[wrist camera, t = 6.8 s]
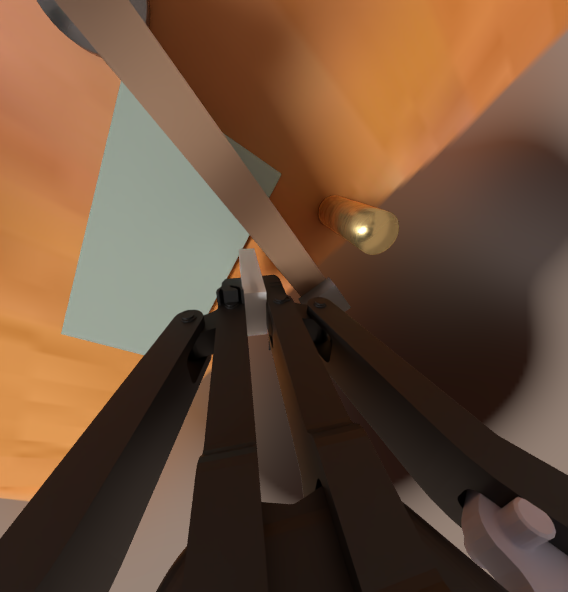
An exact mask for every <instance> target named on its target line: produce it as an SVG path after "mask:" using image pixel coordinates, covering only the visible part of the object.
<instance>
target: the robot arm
mask: <svg viewBox="0 0 568 592" xmlns="http://www.w3.org/2000/svg"><path fill="white" fill-rule="evenodd" d="M238 250H239V261H240V273H241V278H232V279H225V280H224V281H223V282H222V286H221V287H220V288H218V289H217V291H216V295H217V302H218V309H217V310H216V311H214V312H212V313H209V314H206V315H203V313H202V312H201V311H199V310H186V311H183V312H181V313H179V314H177V315H176V316H175V317H174V318H173V319H172V321H171V322H170V323H169V325H168V326H167V327H166V328H165V330H164V331H163V332H162V333H161V335H160V336H159V337H158V339H157V340H156V341H155V342H154V344H153V345H152V346H151V347H150V349H149V350H148V351H147V353H146V354H145V355H144V356H143V358H142V359H141V360H140V361H139V363H138V364H137V365H136V367H135V368H134V369H133V370H132V372H131V373H130V374H129V376H128V377H127V378H126V379H125V381H124V382H123V383H122V384H121V386H120V387H119V388H118V390H117V391H116V392H115V393H114V395H113V396H112V397H111V398H110V400H109V401H108V402H107V404H106V405H105V406H104V407H103V409H102V410H101V411H100V412H99V414H98V415H97V416H96V418H95V419H94V420H93V421H92V423H91V424H90V425H89V426H88V428H87V429H86V430H85V432H84V433H83V434H82V435H81V437H80V438H79V439H78V440H77V442H76V443H75V444H74V446H73V447H72V448H71V449H70V451H69V452H68V453H67V454H66V456H65V457H64V458H63V460H62V461H61V462H60V463H59V465H58V466H57V467H56V468H55V470H54V471H53V472H52V474H51V475H50V476H49V477H48V479H47V480H46V481H45V482H44V484H43V485H42V486H41V488H40V489H39V490H38V491H37V493H36V494H35V495H34V497H33V498H32V499H31V500H30V502H29V503H28V504H27V506H26V507H25V508H24V509H23V511H22V512H21V513H20V514H19V516H18V517H17V518H16V520H15V521H14V522H13V523H12V525H11V526H10V527H9V528H8V530H7V531H6V532H5V534H4V535H3V536H2V537H1V539H0V592H109V590H110V588H111V586H112V583H113V582H114V579H115V577H116V575H117V573H118V571H119V569H120V567H121V565H122V562H123V560H124V558H125V555H126V553H127V551H128V549H129V546H130V544H131V542H132V539H133V537H134V535H135V532H136V530H137V528H138V526H139V523H140V521H141V519H142V516H143V514H144V512H145V510H146V507H147V505H148V503H149V500H150V498H151V496H152V493H153V491H154V489H155V486H156V484H157V482H158V480H159V477H160V475H161V473H162V470H163V468H164V466H165V464H166V461H167V459H168V457H169V454H170V452H171V450H172V447H173V445H174V443H175V440H176V438H177V436H178V433H179V431H180V429H181V427H182V424H183V422H184V420H185V417H186V415H187V413H188V411H189V408H190V406H191V404H192V401H193V399H194V397H195V394H196V392H197V390H198V388H199V385H200V383H201V381H202V378H203V376H204V374H205V371H206V369H207V367H208V365H209V362H210V360H211V355H212V354H213V362H212V372H211V382H210V392H209V402H208V412H207V422H206V432H205V442H204V450H203V454H202V455H201V456H200V458H199V460H198V463H197V469H196V476H195V485H194V493H193V501H192V510H191V519H190V526H189V535H188V544H187V547H186V548H185V549H184V550H183V551H182V553H181V554H180V555H179V556H178V558H177V559H176V561H175V562H174V563H173V565H172V566H171V568H170V569H169V571H168V572H167V574H166V576H165V577H164V579H163V581H162V582H161V584H160V586H159V587H158V589H157V591H156V592H568V475H566V474H564V473H563V472H561V471H559V470H557V469H556V468H554V467H552V466H550V465H549V464H547V463H545V462H543V461H541V460H540V459H538V458H536V457H535V456H533V455H531V454H529V453H528V452H526V451H524V450H522V449H521V448H519V447H517V446H515V445H514V444H512V443H510V442H508V441H507V440H505V439H503V438H501V437H500V436H498V435H497V434H495V433H494V432H493V431H492V430H490V429H489V428H488V427H487V426H485V425H484V424H483V423H482V422H480V421H479V420H478V419H477V418H475V417H474V416H473V415H471V414H470V413H469V412H468V411H467V410H465V409H464V408H463V407H462V406H460V405H459V404H458V403H457V402H456V401H454V400H453V399H452V398H451V397H449V396H448V395H447V394H446V393H444V392H443V391H442V390H441V389H439V388H438V387H437V386H436V385H434V384H433V383H432V382H431V381H429V380H428V379H427V378H426V377H424V376H423V375H422V374H421V373H420V372H418V371H417V370H416V369H414V368H413V367H412V366H411V365H410V364H408V363H407V362H406V361H405V360H403V359H402V358H401V357H400V356H398V355H397V354H396V353H395V352H393V351H392V350H391V349H390V348H388V347H387V346H386V345H385V344H384V343H382V342H381V341H380V340H379V339H377V338H376V337H375V336H374V335H372V334H371V333H370V332H368V331H367V330H366V329H365V328H364V327H362V326H361V325H360V324H359V323H357V322H356V321H355V320H354V319H353V318H351V317H350V316H349V315H348V314H346V313H345V312H344V311H343V310H341V309H340V308H339V307H338V306H336V305H335V304H334V303H333V302H331V301H330V300H328V299H326V298H323V297H314V298H311V299H309V300H308V303H307V304H297V303H294V301H293V299H292V298H291V297H290V296H288V295H286V293H285V290H284V288H283V286H282V283H281V281H280V279H279V278H278V277H277V276H276V275H266V276H262V275H261V271H260V268H259V264H258V261H257V257H256V254H255V250H254V248H253V249H238ZM267 329H268V333H269V350H271V351H272V356H273V360H274V364H275V368H276V372H277V377H278V381H279V385H280V389H281V393H282V397H283V402H284V406H285V410H286V414H287V419H288V423H289V427H290V431H291V435H292V439H293V443H294V448H295V452H296V456H297V461H298V464H299V469H300V474H301V479H302V488H303V495H304V498H303V499H302V500H300V501H299V502H297V503H295V504H278V503H266V502H261V493H260V482H259V468H258V457H257V445H256V433H255V421H254V409H253V396H252V384H251V372H250V360H249V348H248V336H253V335H262V334H267ZM329 375H330V376H331V378H333V380H334V381H335V382H336V384H337V385H338V386H339V387H340V389H341V390H342V391H343V392H344V393H345V395H346V396H347V397H348V398H349V399H350V401H351V402H352V403H353V405H354V406H355V407H356V408H357V409H358V411H359V412H360V413H361V414H362V416H363V417H364V418H365V419H366V421H367V422H368V423H369V424H370V426H372V428H373V429H374V430H375V432H376V433H377V434H378V435H379V436H380V438H381V439H382V440H383V442H384V443H385V444H386V445H387V447H388V448H389V449H390V450H391V451H392V452H393V454H394V455H395V456H396V458H397V459H398V460H399V461H400V462H401V464H402V465H403V466H404V467H405V469H406V470H407V471H408V472H409V474H410V475H411V476H412V477H413V479H414V480H415V481H416V482H417V483H418V484H419V486H420V487H421V488H422V489H423V490H424V491H425V493H426V494H427V495H428V496H429V497H430V498H431V499H432V500H433V501H434V502H435V503H436V504H437V505H438V506H439V507H440V508H441V509H442V510H443V511H444V512H445V513H446V514H447V515H448V516H449V517H450V518H451V519H452V520H453V521H454V522H455V523H457V524H458V525H459V526H460V527H461V528H462V530H463V534H464V545H465V548H466V550H467V553H468V554H469V556H470V557H471V559H472V560H473V561H474V562H475V563H474V562H473V561H472V560H471V559H470V558H469V557H467V556H466V555H465V554H464V553H463V552H461V551H460V550H459V549H458V548H457V547H455V546H454V545H453V544H452V543H451V542H450V541H448V540H447V539H446V538H445V537H444V536H443V535H441V534H440V533H439V532H438V531H437V530H435V529H434V528H433V527H432V526H431V525H429V524H428V523H427V522H426V521H425V520H424V519H422V518H421V517H420V516H419V515H418V514H416V513H415V512H414V511H413V510H412V509H411V508H409V507H408V506H407V505H406V504H404V503H403V502H402V501H401V499H400V497H399V495H398V493H397V491H396V489H395V488H394V486H393V484H392V482H391V480H390V478H389V476H388V474H387V472H386V470H385V468H384V466H383V464H382V462H381V460H380V458H379V456H378V454H377V453H376V451H375V449H374V447H373V445H372V443H371V441H370V439H369V437H368V435H367V433H366V432H365V431H364V429H363V427H361V426H360V424H357V423H353V422H352V421H351V420H350V418H349V416H348V414H347V412H346V410H345V408H344V406H343V403H342V401H341V399H340V397H339V395H338V393H337V391H336V389H335V387H334V385H333V383H332V380H331V378H330V376H329ZM478 565H479V566H480V567H482V568H484V569H487V570H488V571H489V573H490V574H491V575H492V576H493V577H494V578H495V580H494V579H493V578H492V577H491V576H490V575H489V574H487V573H486V572H485V571H484V570H483V569H482V568H480V567H479V566H478Z"/></svg>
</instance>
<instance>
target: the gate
mask: <svg viewBox="0 0 568 592" xmlns="http://www.w3.org/2000/svg"><path fill="white" fill-rule="evenodd" d="M55 2H56V3H57V4H58V5H59V6H60V8H61V9H62V10H63V11H64V13H65V14H66V15H67V16H68V17H69V19H70V20H71V21H72V22H73V23H74V25H75V26H76V27H77V28H78V29H79V31H80V32H81V33H82V34H83V35H84V37H85V38H86V39H87V40H88V41H89V43H90V44H91V45H92V46H93V47H94V49H95V50H96V51H97V52H98V53H99V55H100V56H101V57H102V58H103V59H104V61H105V62H106V63H107V64H108V65H109V67H110V68H111V69H112V70H113V71H114V73H115V74H116V75H117V76H118V77H119V79H120V80H121V81H122V82H123V83H124V85H125V86H126V87H127V88H128V89H129V91H130V92H131V93H132V94H133V95H134V97H135V98H136V99H137V100H138V101H139V103H140V104H141V105H142V106H143V107H144V109H145V110H146V111H147V112H148V113H149V115H150V116H151V117H152V118H153V119H154V121H155V122H156V123H157V124H158V125H159V127H160V128H161V129H162V130H163V131H164V133H165V134H166V135H167V136H168V137H169V139H170V140H171V141H172V142H173V143H174V145H175V146H176V147H177V148H178V149H179V151H180V152H181V153H182V154H183V155H184V157H185V158H186V159H187V160H188V161H189V163H190V164H191V165H192V166H193V167H194V169H195V170H196V171H197V172H198V173H199V175H200V176H201V177H202V178H203V179H204V181H205V182H206V183H207V184H208V185H209V187H210V188H211V189H212V190H213V191H214V193H215V194H216V195H217V196H218V197H219V199H220V200H221V201H222V202H223V203H224V205H225V206H226V207H227V208H228V209H229V211H230V212H231V213H232V214H233V216H234V217H235V218H236V219H237V220H238V222H239V223H240V224H241V225H242V226H243V228H244V229H245V230H246V231H247V232H248V234H249V235H250V236H251V237H252V238H253V240H254V241H255V242H256V243H257V244H258V246H259V247H260V248H261V249H262V250H263V252H264V253H265V254H266V255H267V256H268V258H269V259H270V260H271V261H272V262H273V264H274V265H275V266H276V267H277V268H278V270H279V271H280V272H281V273H282V274H283V276H284V277H285V278H286V279H287V280H288V282H289V283H290V284H291V285H292V286H293V288H294V289H295V290H296V291H297V292H298V294H299V295H300V296H301V297H300V298H299V301H300V303H301V304H307V303H308V300H309V299H311V298H314V297H323V298H326V299H328V300H330V301H331V302H333V303H334V304H335V305H336V306H338V307H339V308H340V309H341V310H343V311H344V312H345V311H346V310H348V309H349V308H351V307H350V306H349V304H348V303H347V301H346V300H345V299H344V297H343V296H342V294H341V293H340V291H339V290H338V288H337V287H336V285H335V284H334V283H333V282H332V281H331V279H330V278H329V277H328V278H327V279H326V278H325V277H324V276H323V274H322V273H321V271H320V270H319V269H318V267H317V266H316V264H315V263H314V261H313V260H312V259H311V257H310V256H309V254H308V253H307V252H306V250H305V249H304V247H303V246H302V244H301V243H300V242H299V240H298V239H297V237H296V236H295V235H294V233H293V232H292V230H291V229H290V228H289V226H288V225H287V223H286V222H285V220H284V219H283V218H282V216H281V215H280V213H279V212H278V211H277V209H276V208H275V206H274V205H273V203H272V202H271V201H270V199H269V198H268V196H267V195H266V194H265V192H264V191H263V189H262V188H261V187H260V185H259V184H258V182H257V181H256V179H255V178H254V177H253V175H252V174H251V172H250V171H249V170H248V168H247V167H246V165H245V164H244V162H243V161H242V160H241V158H240V157H239V155H238V154H237V153H236V151H235V150H234V148H233V147H232V145H231V144H230V143H229V141H228V140H227V138H226V137H225V136H224V134H223V133H222V131H221V130H220V129H219V127H218V126H217V124H216V123H215V121H214V120H213V119H212V117H211V116H210V114H209V113H208V112H207V110H206V109H205V107H204V106H203V104H202V103H201V102H200V100H199V99H198V97H197V96H196V95H195V93H194V92H193V90H192V89H191V88H190V86H189V85H188V83H187V82H186V80H185V79H184V78H183V76H182V75H181V73H180V72H179V71H178V69H177V68H176V66H175V65H174V63H173V62H172V61H171V59H170V58H169V56H168V55H167V54H166V52H165V51H164V49H163V48H162V47H161V45H160V44H159V42H158V41H157V39H156V38H155V37H154V35H153V34H152V32H151V31H150V30H149V28H148V27H147V25H146V24H145V22H144V21H143V20H142V18H141V17H140V15H139V14H138V13H137V11H136V10H135V8H134V7H133V5H132V4H131V3H130V1H129V0H55Z"/></svg>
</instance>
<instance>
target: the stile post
mask: <svg viewBox="0 0 568 592" xmlns="http://www.w3.org/2000/svg"><path fill="white" fill-rule="evenodd" d="M318 216H319V219H320V221H321V222H322V224H324V225H325V226H327V227H328V228H330V229H331V230H332V231H334V232H335V233H337V234H338V235H340V236H341V237H343V238H344V239H345V240H347V241H348V242H350V243H351V244H353V245H354V246H356V247H357V248H359V249H360V250H361V251H363V252H364V253H366V254H369V255H376V254H380V253H382V252H384V251H386V250H387V249H388V248H389V247H390V246H391V245H392V244H393V243H394V241H395V240H396V237H397V235H398V231H399V223H398V219H397V217H396V216H395V215H394V214H393V213H391V212H389V211H386V210H383V209H380V208H376V207H373V206H370V205H366V204H363V203H360V202H357V201H353V200H350V199H347V198H343V197H340V196H337V195H332V196H329V197H327V198H326V199H324V200H323V201H322V203H321V204H320V207H319V210H318Z"/></svg>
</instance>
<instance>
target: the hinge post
mask: <svg viewBox="0 0 568 592" xmlns="http://www.w3.org/2000/svg"><path fill="white" fill-rule="evenodd" d="M129 1H130V3H131V4H132V5H133V7H134V8H135V10H136V11H137V13H138V14H139V15H140V17H141V18H142V20H143V21H144V22H145V24H146V25H147V27H148V28H149V24H150V2H149V0H129ZM37 2H38V3H39V5H40V6H41V8H42V9H43V11H44V12H45V13H46V15H47V16H48V17H49V18H50V20H51V21H52V22H53V23H54V24H55V25H56V26H57V27H58V29H59V30H60V31H62V32H63V33H64V34H65V35H66V36H67V37H68V38H70V39H71V40H72V41H74V42H75V43H76V44H78V45H79V46H80V47H82V48H83V49H85V50H86V51H88V52H90V53H92V54H94V55H96V56H99V57H101V56H100V55H99V53H98V52H97V51H96V50H95V49H94V47H93V46H92V45H91V44H90V43H89V41H88V40H87V39H86V38H85V37H84V35H83V34H82V33H81V32H80V31H79V29H78V28H77V27H76V26H75V25H74V23H73V22H72V21H71V20H70V19H69V17H68V16H67V15H66V14H65V13H64V11H63V10H62V9H61V8H60V6H59V5H58V4H57V3H56V2H55V0H37Z"/></svg>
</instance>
